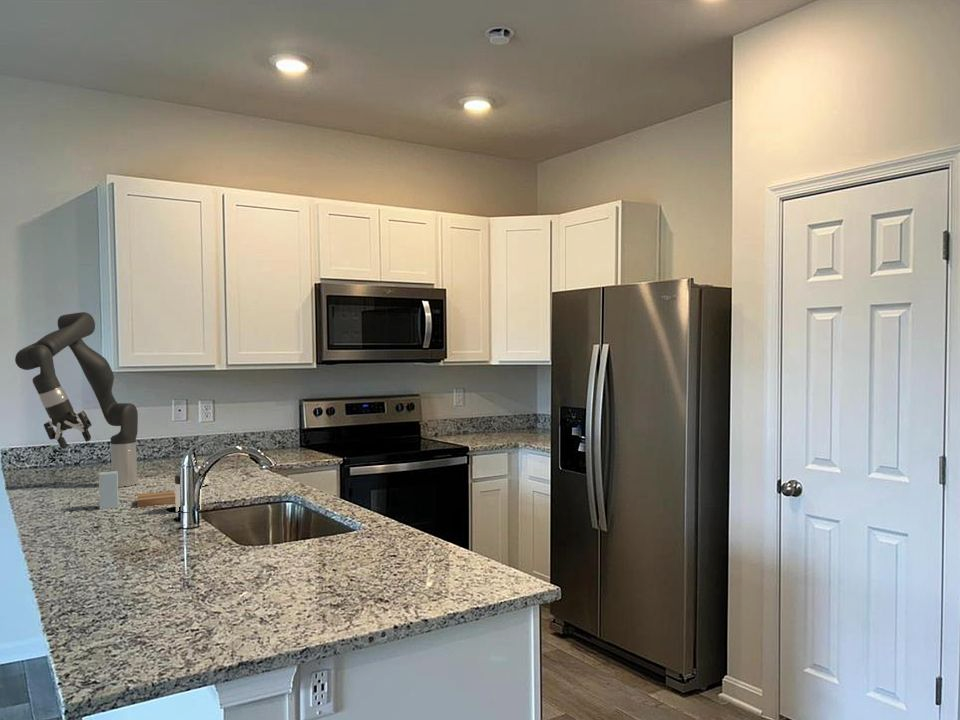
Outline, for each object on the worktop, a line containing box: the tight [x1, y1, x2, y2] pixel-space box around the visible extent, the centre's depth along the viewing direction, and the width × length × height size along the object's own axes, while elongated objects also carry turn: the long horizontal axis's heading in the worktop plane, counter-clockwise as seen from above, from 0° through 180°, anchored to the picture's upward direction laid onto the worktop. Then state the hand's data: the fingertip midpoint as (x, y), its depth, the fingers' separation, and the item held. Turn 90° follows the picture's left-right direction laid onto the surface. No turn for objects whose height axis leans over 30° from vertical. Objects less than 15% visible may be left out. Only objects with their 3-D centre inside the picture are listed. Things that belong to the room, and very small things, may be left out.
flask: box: [196, 459, 211, 484], centre depth 285 cm, size 7×7×10 cm
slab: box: [136, 490, 176, 508], centre depth 255 cm, size 12×12×3 cm
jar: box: [174, 473, 202, 513], centre depth 241 cm, size 9×8×12 cm
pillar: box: [98, 470, 120, 510], centre depth 249 cm, size 6×6×12 cm
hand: (77, 444), depth 247 cm, fingers open, 8 cm apart
